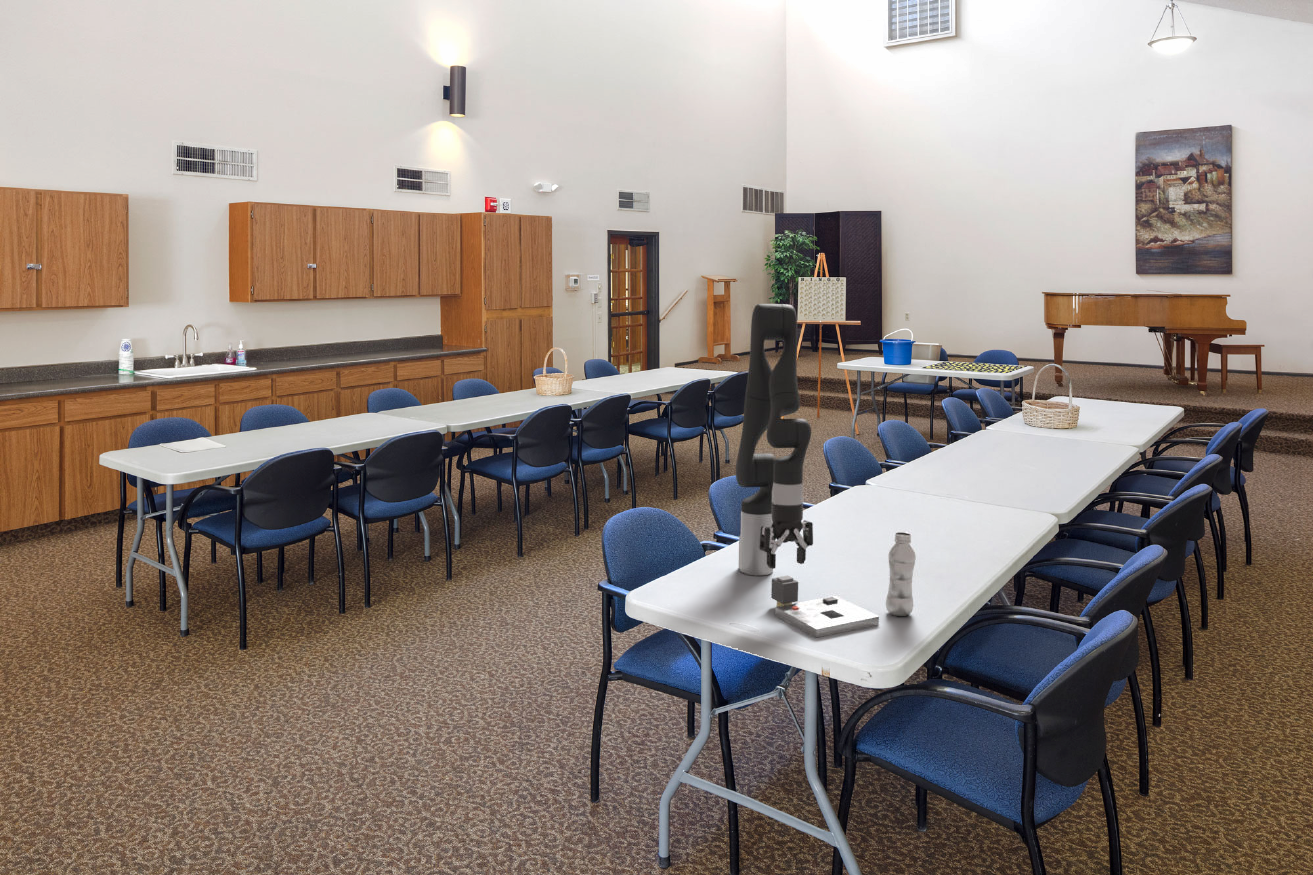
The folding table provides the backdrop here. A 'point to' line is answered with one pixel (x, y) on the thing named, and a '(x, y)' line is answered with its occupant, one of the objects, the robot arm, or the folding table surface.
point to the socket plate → (826, 616)
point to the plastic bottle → (901, 576)
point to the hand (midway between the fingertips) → (786, 565)
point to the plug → (784, 590)
